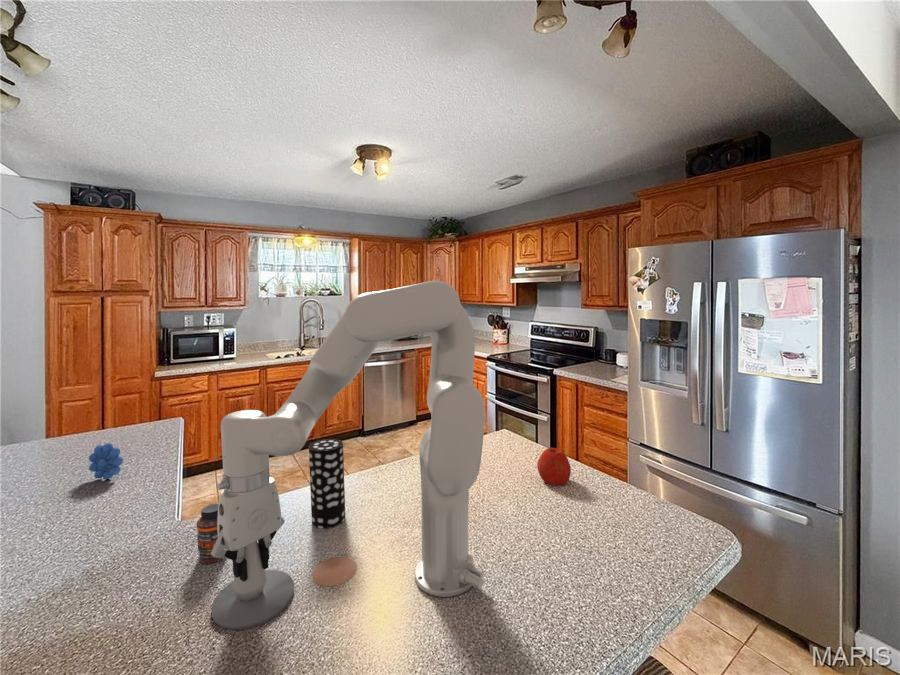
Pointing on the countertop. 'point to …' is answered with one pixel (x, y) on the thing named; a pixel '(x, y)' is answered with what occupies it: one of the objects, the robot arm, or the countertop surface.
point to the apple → (554, 467)
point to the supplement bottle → (207, 533)
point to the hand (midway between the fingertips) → (252, 570)
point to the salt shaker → (251, 575)
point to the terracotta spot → (334, 571)
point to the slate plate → (253, 603)
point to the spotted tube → (327, 483)
